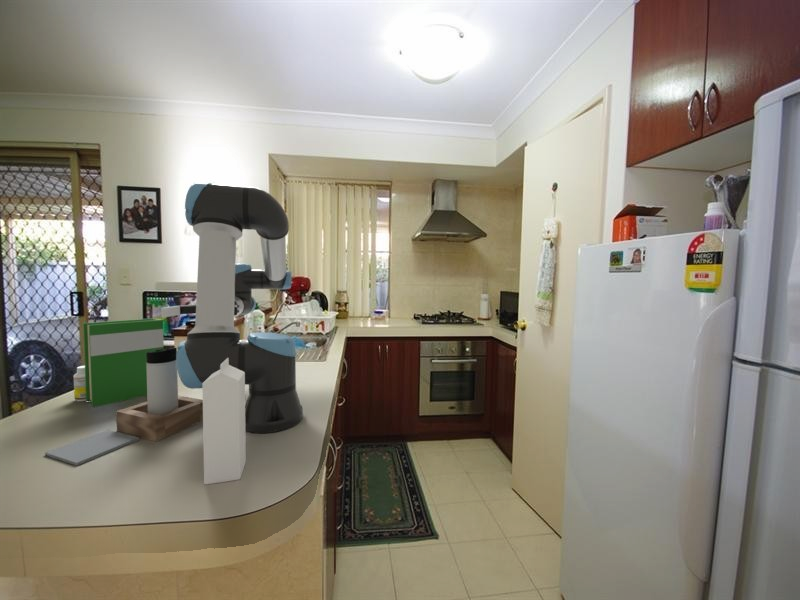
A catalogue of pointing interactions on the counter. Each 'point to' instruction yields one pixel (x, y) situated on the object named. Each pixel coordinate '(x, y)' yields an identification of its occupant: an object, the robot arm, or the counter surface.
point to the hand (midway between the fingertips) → (187, 312)
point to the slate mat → (91, 447)
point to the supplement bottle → (80, 384)
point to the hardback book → (119, 358)
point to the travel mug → (162, 381)
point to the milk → (224, 424)
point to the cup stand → (159, 419)
